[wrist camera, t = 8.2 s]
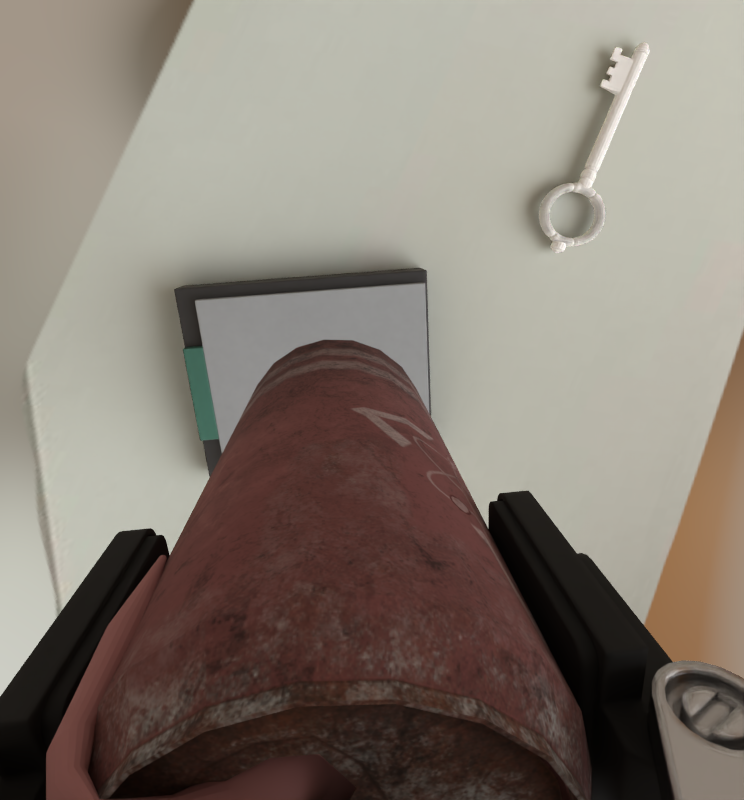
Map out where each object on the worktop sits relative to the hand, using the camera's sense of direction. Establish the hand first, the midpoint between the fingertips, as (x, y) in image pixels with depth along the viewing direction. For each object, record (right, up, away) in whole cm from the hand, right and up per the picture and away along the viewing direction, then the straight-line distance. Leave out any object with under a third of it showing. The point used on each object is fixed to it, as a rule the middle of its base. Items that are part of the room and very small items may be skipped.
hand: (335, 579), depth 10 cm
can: (-1, +3, +9) cm, 9 cm away
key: (+14, +18, +21) cm, 31 cm away
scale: (-3, +5, +24) cm, 25 cm away
